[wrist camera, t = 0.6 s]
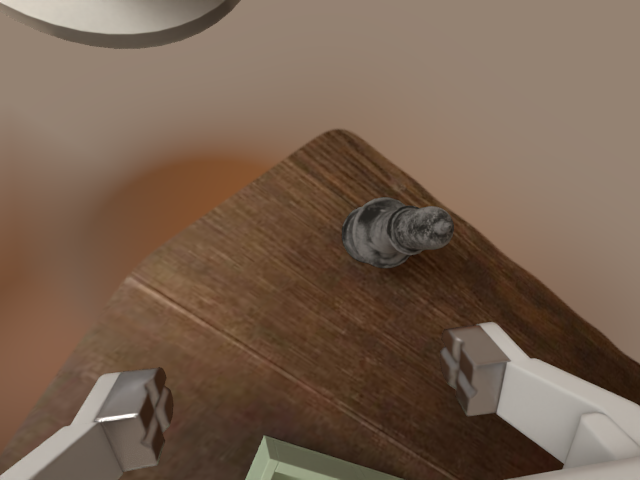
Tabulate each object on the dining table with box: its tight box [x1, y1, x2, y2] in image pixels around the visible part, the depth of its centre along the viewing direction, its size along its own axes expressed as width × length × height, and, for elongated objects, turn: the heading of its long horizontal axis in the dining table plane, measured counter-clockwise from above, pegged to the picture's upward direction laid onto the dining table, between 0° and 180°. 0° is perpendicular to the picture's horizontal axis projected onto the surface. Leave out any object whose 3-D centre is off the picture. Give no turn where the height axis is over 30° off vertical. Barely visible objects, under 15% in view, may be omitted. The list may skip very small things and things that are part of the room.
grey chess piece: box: [342, 197, 454, 268], centre depth 26 cm, size 6×6×12 cm
